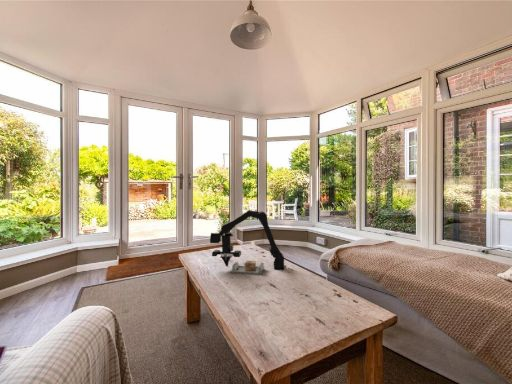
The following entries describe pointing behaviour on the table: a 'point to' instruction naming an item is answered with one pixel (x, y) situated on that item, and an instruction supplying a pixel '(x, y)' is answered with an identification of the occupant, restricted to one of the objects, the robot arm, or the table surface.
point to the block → (250, 265)
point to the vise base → (241, 270)
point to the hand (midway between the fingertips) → (227, 266)
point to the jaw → (235, 266)
